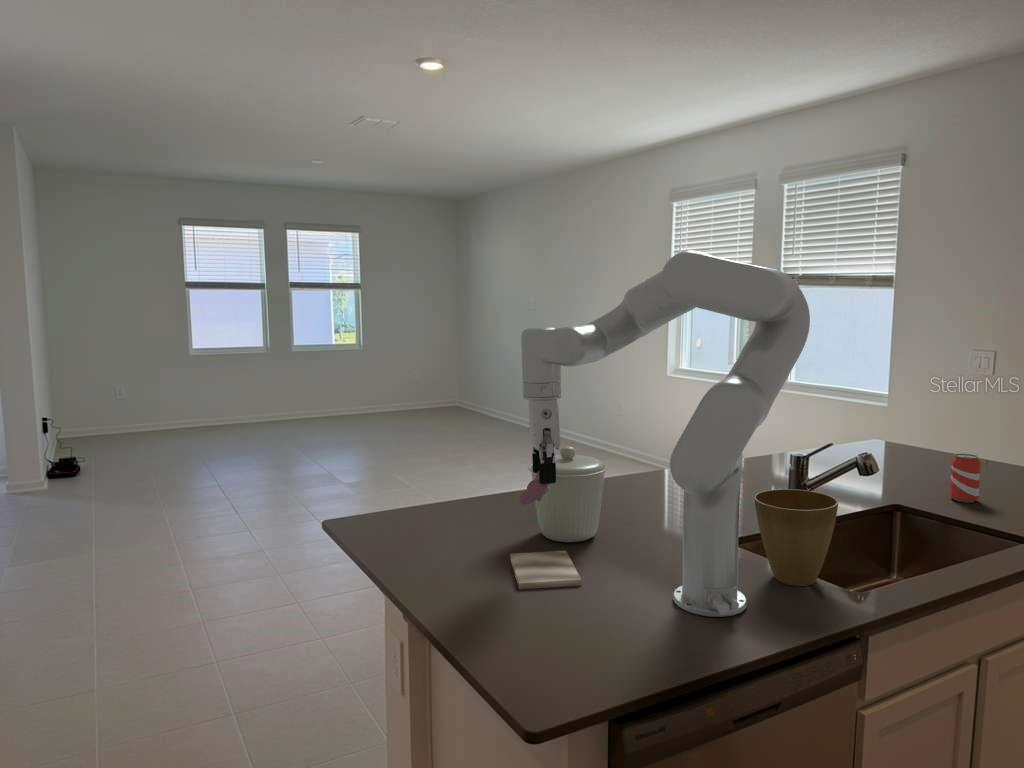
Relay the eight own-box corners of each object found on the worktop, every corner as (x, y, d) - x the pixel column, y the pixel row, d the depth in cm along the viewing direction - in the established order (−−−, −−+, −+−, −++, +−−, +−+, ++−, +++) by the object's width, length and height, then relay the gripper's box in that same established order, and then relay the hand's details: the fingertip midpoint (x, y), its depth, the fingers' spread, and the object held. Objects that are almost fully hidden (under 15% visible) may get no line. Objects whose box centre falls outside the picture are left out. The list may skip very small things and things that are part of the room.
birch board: (581, 585, 135) (581, 579, 135) (519, 589, 134) (519, 583, 134) (566, 555, 151) (565, 550, 151) (510, 559, 150) (510, 553, 149)
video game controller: (538, 513, 136) (553, 482, 135) (516, 502, 137) (531, 471, 135) (545, 499, 146) (560, 470, 144) (525, 489, 146) (540, 460, 145)
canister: (543, 553, 153) (542, 457, 151) (520, 527, 170) (518, 441, 168) (620, 544, 158) (620, 451, 155) (590, 520, 175) (589, 436, 173)
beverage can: (977, 504, 182) (980, 459, 181) (948, 501, 186) (950, 456, 184) (979, 499, 187) (981, 454, 185) (950, 495, 191) (953, 452, 189)
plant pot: (812, 563, 144) (815, 486, 142) (850, 593, 129) (854, 508, 128) (741, 565, 144) (742, 489, 142) (771, 596, 129) (773, 510, 127)
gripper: (569, 395, 130) (571, 487, 132) (553, 385, 147) (555, 466, 149) (528, 396, 129) (531, 489, 131) (517, 386, 146) (520, 468, 148)
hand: (544, 477), depth 140 cm, fingers closed on video game controller, 8 cm apart
